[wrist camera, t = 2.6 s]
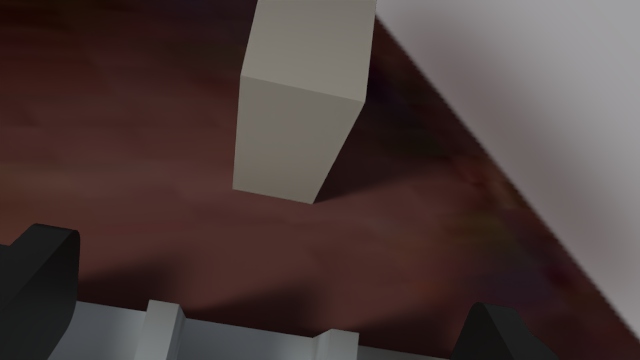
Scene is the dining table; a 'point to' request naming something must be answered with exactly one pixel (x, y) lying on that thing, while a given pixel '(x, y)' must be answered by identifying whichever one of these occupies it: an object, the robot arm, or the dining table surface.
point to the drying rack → (197, 339)
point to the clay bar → (300, 93)
